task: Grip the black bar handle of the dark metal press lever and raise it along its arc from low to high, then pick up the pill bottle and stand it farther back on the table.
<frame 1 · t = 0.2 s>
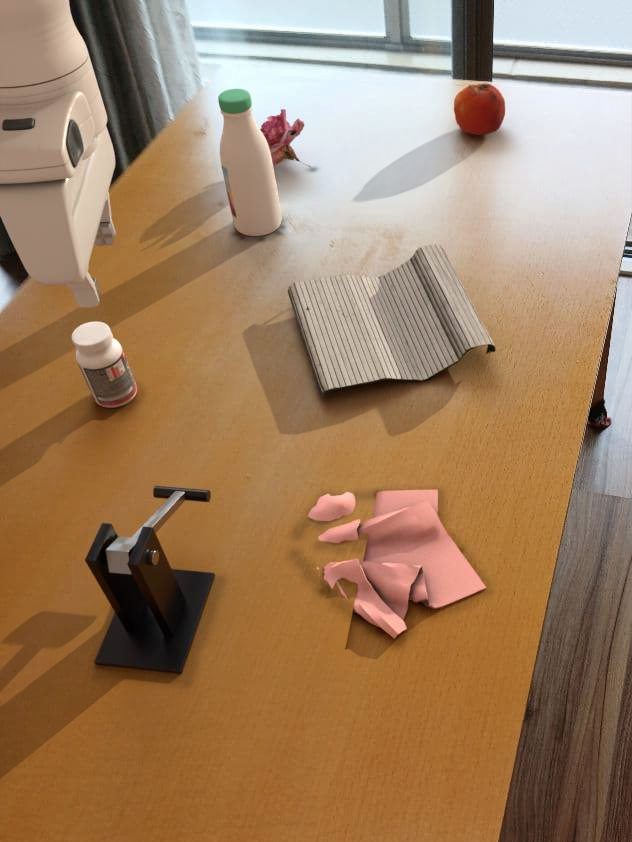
hand: (98, 270, 71), 31 cm above the table, tool pointing down, fingers open, 8 cm apart
bracket: (160, 623, 85), on the table
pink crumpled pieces: (387, 558, 89), on the table
flower: (277, 167, 142), on the table
milk bottle: (258, 225, 131), on the table
pill bottle: (116, 395, 107), on the table
red round fruit: (478, 131, 147), on the table
lever: (154, 523, 81), point 9 cm above the table, hinge at -25.0°
mat: (387, 333, 113), on the table
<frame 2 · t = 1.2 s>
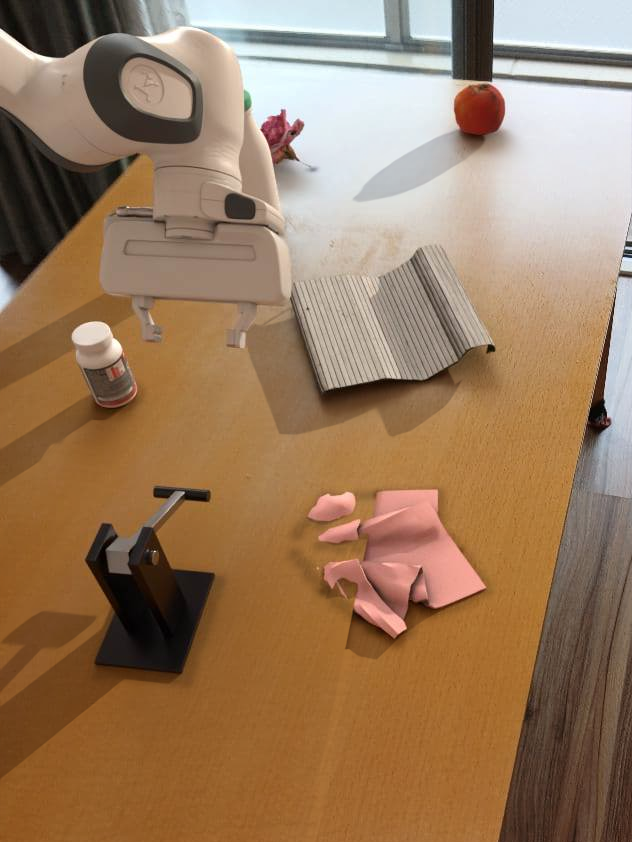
hand: (193, 345, 87), 17 cm above the table, tool tilted 45°, fingers open, 8 cm apart
nothing on the table moved.
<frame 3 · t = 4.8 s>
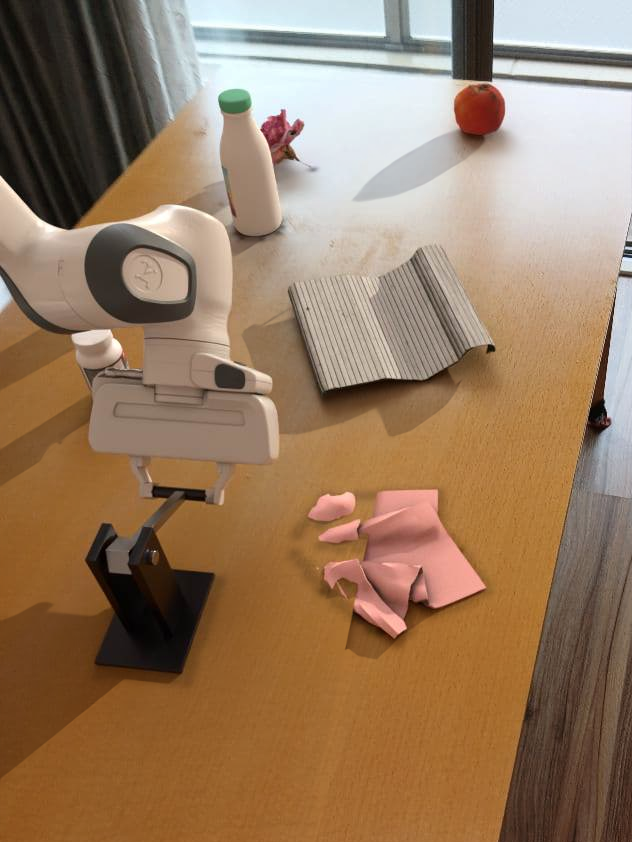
hand: (182, 501, 88), 6 cm above the table, tool tilted 45°, fingers closed on lever, 6 cm apart
lever: (154, 523, 81), point 9 cm above the table, hinge at -24.9°, touching gripper
everything else where it was.
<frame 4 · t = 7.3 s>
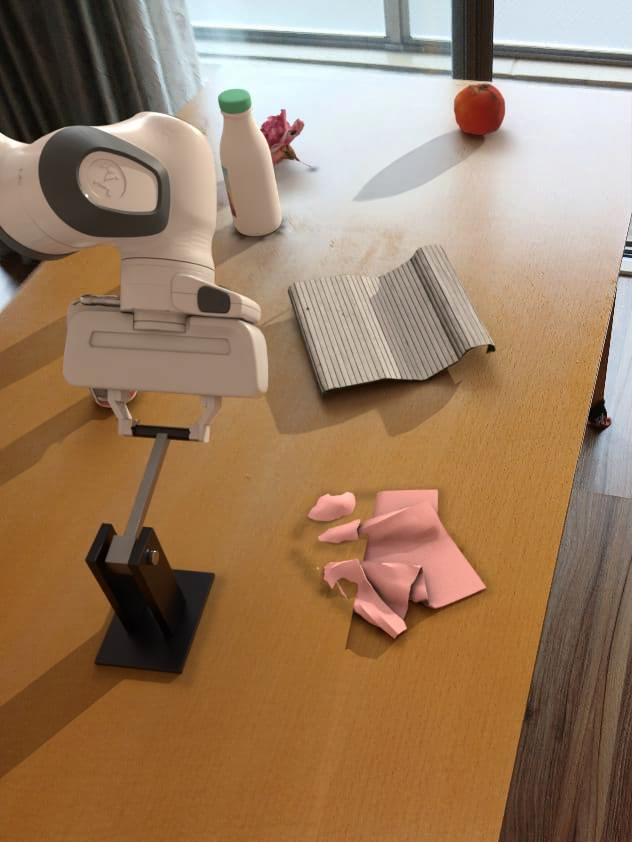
hand: (164, 439, 82), 14 cm above the table, tool tilted 45°, fingers closed on lever, 6 cm apart
lever: (145, 494, 79), point 13 cm above the table, hinge at 9.1°, touching gripper
everything else where it was.
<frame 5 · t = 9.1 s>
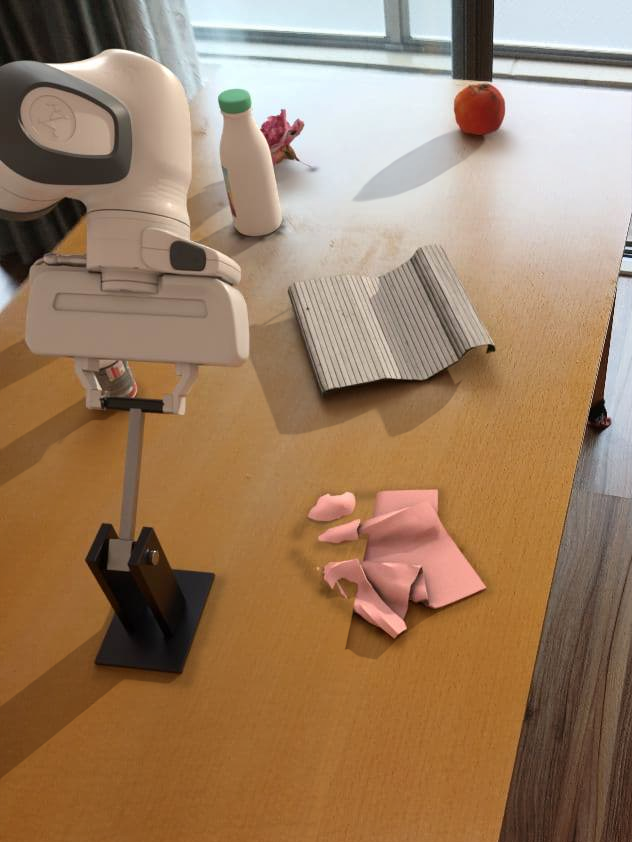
hand: (136, 412, 75), 20 cm above the table, tool tilted 45°, fingers closed on lever, 6 cm apart
lever: (131, 484, 76), point 16 cm above the table, hinge at 37.2°, touching gripper
everything else where it was.
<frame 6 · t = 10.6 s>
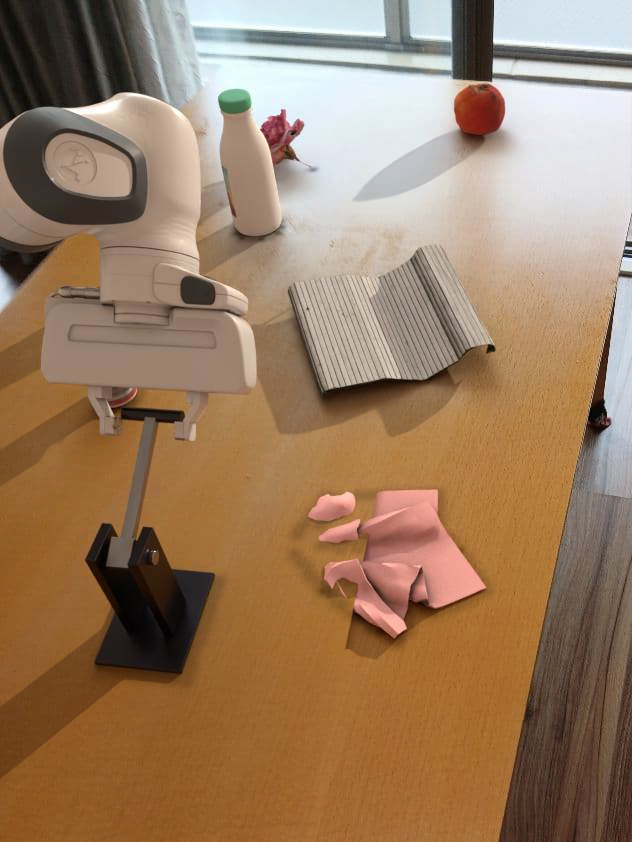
hand: (148, 438, 78), 17 cm above the table, tool tilted 45°, fingers closed on lever, 6 cm apart
lever: (138, 487, 77), point 15 cm above the table, hinge at 23.4°, touching gripper
everything else where it was.
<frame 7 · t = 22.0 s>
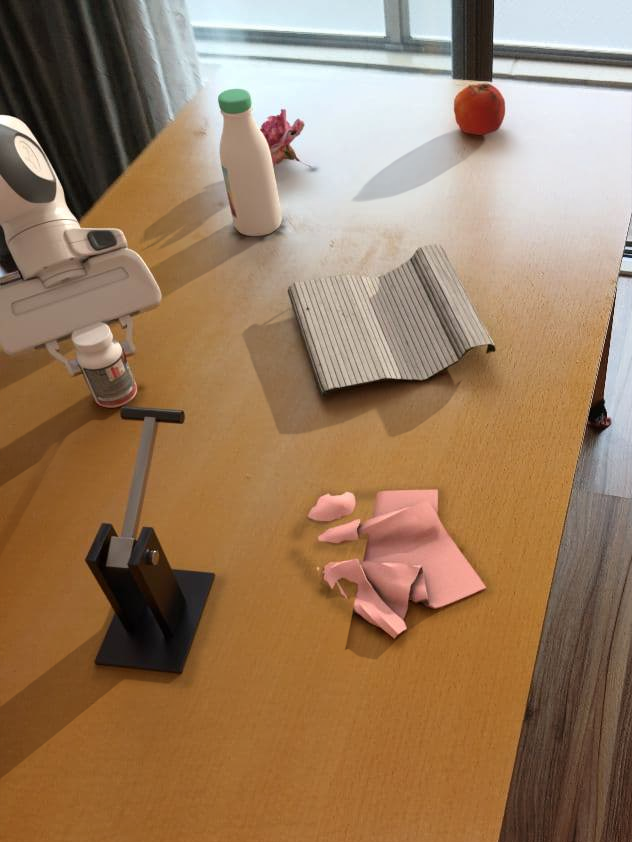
hand: (104, 365, 103), 5 cm above the table, tool tilted 45°, fingers closed on pill bottle, 6 cm apart
pill bottle: (116, 395, 107), on the table, touching gripper
lever: (138, 487, 77), point 15 cm above the table, hinge at 23.6°
everything else where it was.
when the fingers open (5 cm above the table, at t = 29.8 s): pill bottle stays where it is, on the table.
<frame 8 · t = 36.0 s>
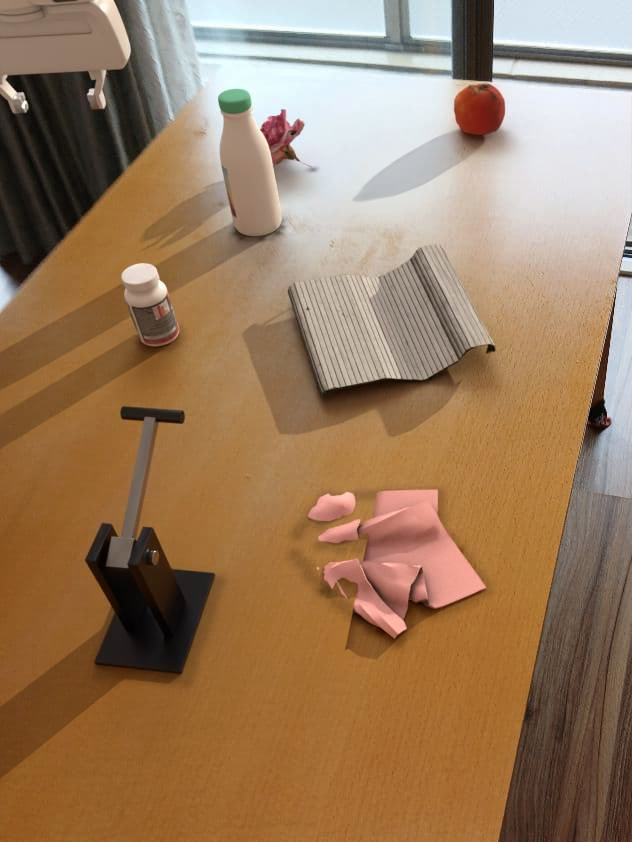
hand: (60, 109, 99), 27 cm above the table, tool pointing down, fingers open, 8 cm apart
pill bottle: (160, 336, 115), on the table
everything else where it was.
at the end: lever at +24° (first picture: -25°); pill bottle inside the target area (0.0 cm from its centre), on the table; pill bottle tilted 0° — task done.
